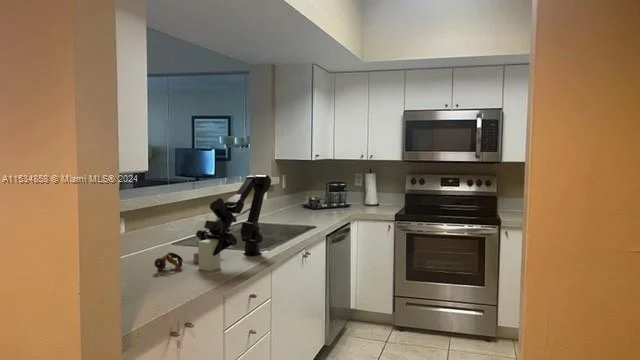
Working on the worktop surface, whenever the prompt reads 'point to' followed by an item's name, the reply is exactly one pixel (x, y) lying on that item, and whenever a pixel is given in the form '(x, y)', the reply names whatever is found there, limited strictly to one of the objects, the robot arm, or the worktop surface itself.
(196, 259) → the cork stopper
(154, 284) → the worktop surface
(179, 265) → the red and black headphones
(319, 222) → the worktop surface
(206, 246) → the sage cover
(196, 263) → the slate mat
